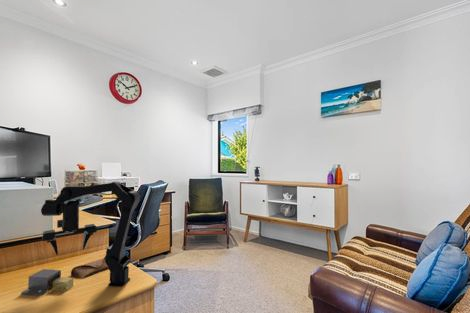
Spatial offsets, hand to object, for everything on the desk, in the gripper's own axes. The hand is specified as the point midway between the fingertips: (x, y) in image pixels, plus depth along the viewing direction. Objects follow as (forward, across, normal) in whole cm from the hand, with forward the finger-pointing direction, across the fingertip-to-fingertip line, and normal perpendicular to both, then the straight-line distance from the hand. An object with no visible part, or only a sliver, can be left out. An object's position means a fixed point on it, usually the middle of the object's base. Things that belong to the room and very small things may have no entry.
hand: (70, 252), depth 101 cm
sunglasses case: (+14, -11, -8) cm, 19 cm away
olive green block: (+13, +3, +3) cm, 14 cm away
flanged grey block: (+13, +8, -3) cm, 16 cm away
